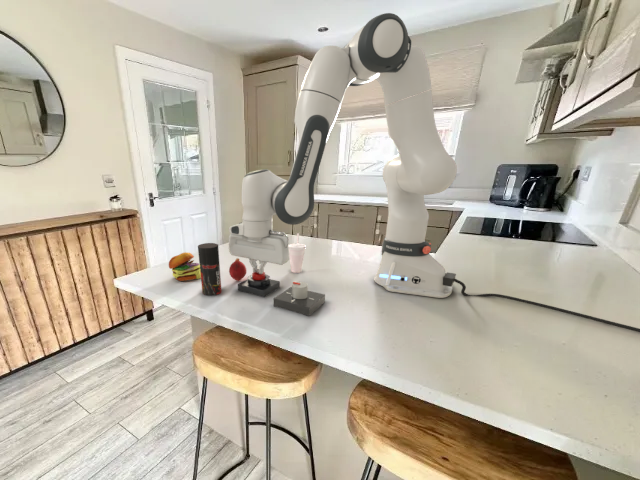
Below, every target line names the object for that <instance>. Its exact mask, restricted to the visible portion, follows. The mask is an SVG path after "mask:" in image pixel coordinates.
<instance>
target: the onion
mask: <svg viewBox="0 0 640 480" xmlns="http://www.w3.org/2000/svg"><path fill="white" fill-rule="evenodd" d="M228 272H229V276H230V277H231V278H232V279H233V280H235V281H236V282H241V280H242V279H244V278H245V276H246V274H247V267H246V265H245V264H244V263H243V262H242V261H241V260H240V257H237V258H236V259H235V261H233V262H232V263H231V264H230V266H229V269H228Z"/></svg>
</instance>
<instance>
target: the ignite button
mask: <svg viewBox="0 0 640 480" xmlns="http://www.w3.org/2000/svg"><path fill="white" fill-rule="evenodd" d="M265 274H266V272H265V271H264V272H263V274H258V273H253V272H252V273H251V275H252V279H254V280H263V279H265Z"/></svg>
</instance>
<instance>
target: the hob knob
mask: <svg viewBox="0 0 640 480" xmlns="http://www.w3.org/2000/svg"><path fill="white" fill-rule="evenodd" d="M291 287H292V297H293V298H295V299H306V298H307V297H308V291H309V284H308V282H305V281H293V282H292V284H291Z"/></svg>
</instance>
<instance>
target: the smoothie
mask: <svg viewBox="0 0 640 480" xmlns="http://www.w3.org/2000/svg"><path fill="white" fill-rule="evenodd" d="M299 240H300V233H299V232H297V233H296V243H290V244H289V243H288V248H289V264H290V272H291V273H293V274H300V273H302V271H303V270H302V269H303V263H304V258H305V251H306V249H307V246H306V244H304V243H300V242H299Z"/></svg>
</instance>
